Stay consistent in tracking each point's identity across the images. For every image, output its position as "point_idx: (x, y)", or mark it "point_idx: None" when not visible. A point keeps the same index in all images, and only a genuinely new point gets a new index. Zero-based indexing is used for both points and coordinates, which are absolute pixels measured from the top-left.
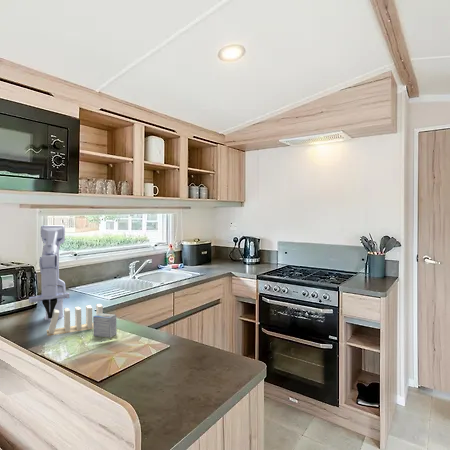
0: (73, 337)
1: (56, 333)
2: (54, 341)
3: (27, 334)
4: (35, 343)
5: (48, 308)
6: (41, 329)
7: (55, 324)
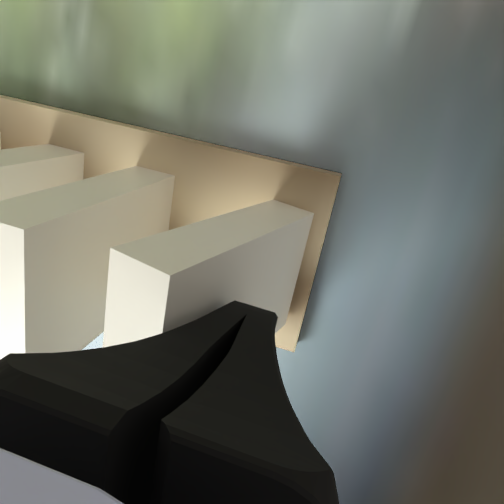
0: (147, 11)
1: (250, 193)
2: (320, 17)
3: (442, 405)
4: (489, 94)
5: (232, 377)
6: (309, 433)
7: (229, 216)
